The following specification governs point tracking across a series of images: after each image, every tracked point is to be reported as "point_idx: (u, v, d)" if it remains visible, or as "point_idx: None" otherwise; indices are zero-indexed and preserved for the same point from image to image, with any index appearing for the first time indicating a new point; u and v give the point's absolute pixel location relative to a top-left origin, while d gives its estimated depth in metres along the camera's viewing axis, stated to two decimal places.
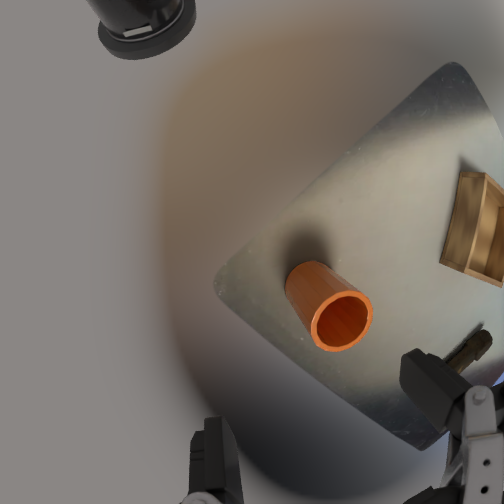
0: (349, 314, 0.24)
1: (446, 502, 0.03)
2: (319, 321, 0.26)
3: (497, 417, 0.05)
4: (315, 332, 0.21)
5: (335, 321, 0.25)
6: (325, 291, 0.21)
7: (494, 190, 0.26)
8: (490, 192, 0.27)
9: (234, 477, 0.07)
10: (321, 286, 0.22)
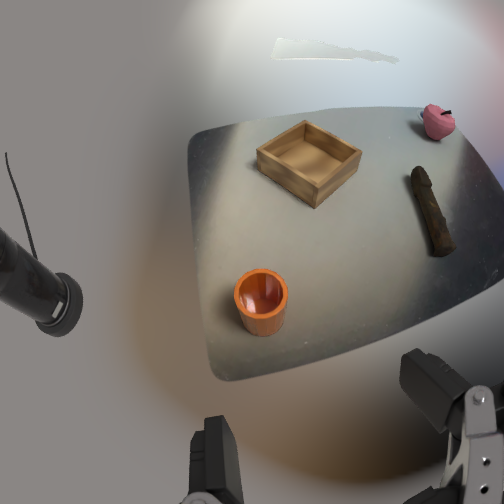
0: (277, 290, 0.32)
1: (446, 502, 0.03)
2: None
3: (497, 417, 0.05)
4: (253, 314, 0.27)
5: None
6: None
7: (276, 143, 0.47)
8: (281, 147, 0.49)
9: (234, 477, 0.07)
10: None
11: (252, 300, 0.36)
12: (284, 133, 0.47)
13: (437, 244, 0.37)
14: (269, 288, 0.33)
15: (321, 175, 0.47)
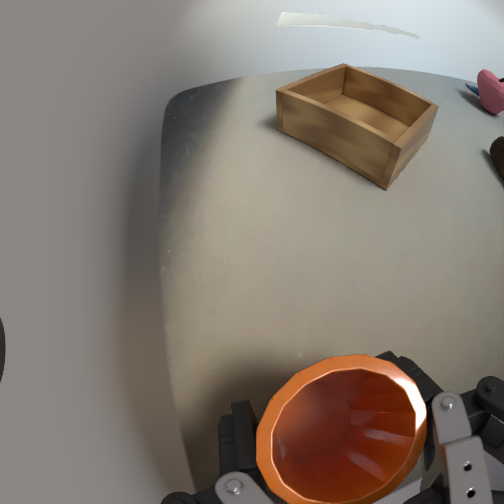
0: (372, 393, 0.09)
1: None
2: (362, 444, 0.10)
3: None
4: None
5: (375, 420, 0.10)
6: None
7: (307, 86, 0.25)
8: (314, 95, 0.27)
9: None
10: None
11: None
12: (318, 74, 0.26)
13: None
14: (343, 381, 0.11)
15: None
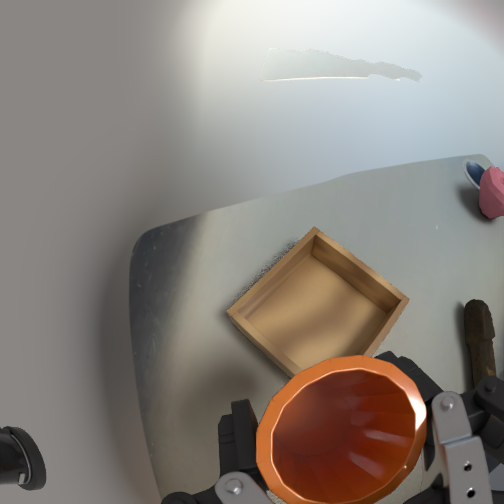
0: (372, 393, 0.09)
1: None
2: (362, 444, 0.10)
3: None
4: None
5: (375, 420, 0.10)
6: None
7: (263, 289, 0.28)
8: (272, 286, 0.30)
9: None
10: None
11: None
12: (277, 267, 0.28)
13: None
14: (343, 382, 0.11)
15: (337, 337, 0.28)
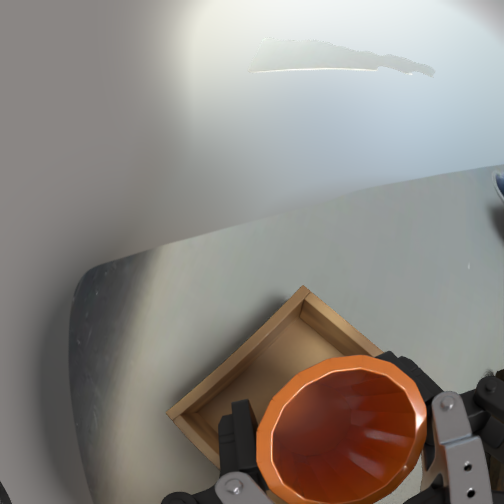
0: (372, 393, 0.09)
1: None
2: (362, 444, 0.10)
3: None
4: None
5: (375, 420, 0.09)
6: None
7: (220, 382, 0.17)
8: (237, 372, 0.19)
9: None
10: None
11: None
12: (240, 353, 0.18)
13: None
14: (343, 382, 0.11)
15: None
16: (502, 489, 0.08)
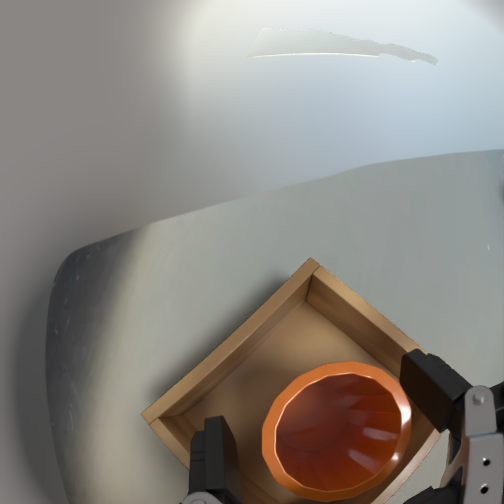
0: (365, 394, 0.11)
1: (446, 502, 0.03)
2: (356, 440, 0.11)
3: (497, 417, 0.05)
4: (321, 493, 0.06)
5: (368, 418, 0.11)
6: None
7: (208, 378, 0.14)
8: (230, 366, 0.16)
9: (234, 477, 0.07)
10: None
11: None
12: (233, 341, 0.14)
13: None
14: (339, 383, 0.12)
15: None
16: None
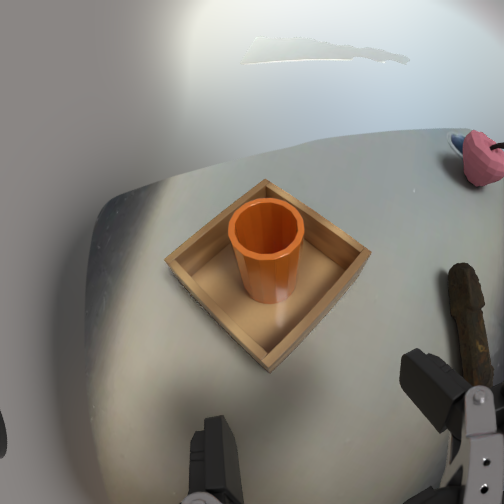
0: (289, 233, 0.23)
1: (446, 502, 0.03)
2: None
3: (497, 417, 0.05)
4: (256, 254, 0.19)
5: None
6: None
7: (205, 239, 0.27)
8: (219, 240, 0.28)
9: (234, 477, 0.07)
10: None
11: None
12: (220, 216, 0.27)
13: None
14: (277, 233, 0.25)
15: (289, 297, 0.27)
16: (480, 384, 0.17)
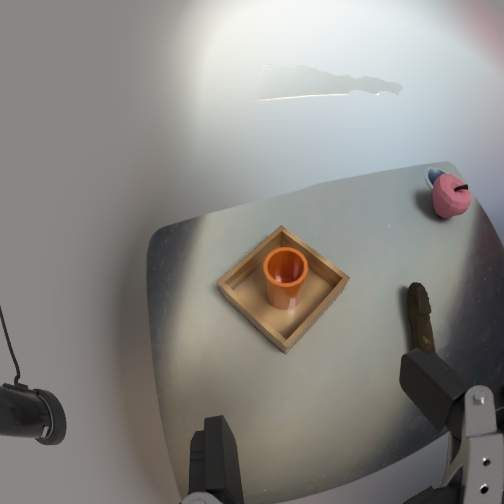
0: (298, 266, 0.38)
1: (446, 502, 0.03)
2: None
3: (497, 417, 0.05)
4: (281, 283, 0.33)
5: None
6: None
7: (243, 268, 0.41)
8: (250, 267, 0.43)
9: (234, 477, 0.07)
10: None
11: (274, 278, 0.42)
12: (253, 253, 0.41)
13: None
14: (290, 266, 0.39)
15: (297, 305, 0.41)
16: None
